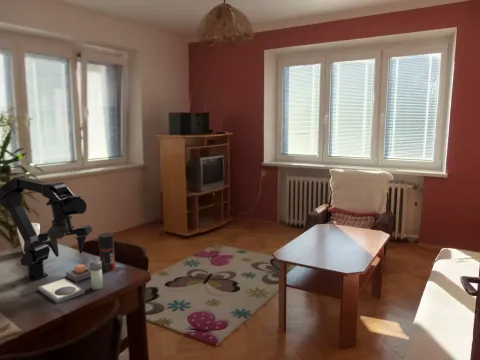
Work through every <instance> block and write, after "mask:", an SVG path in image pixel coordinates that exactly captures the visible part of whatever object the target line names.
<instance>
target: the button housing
mask: <svg viewBox="0 0 480 360" xmlns="http://www.w3.org/2000/svg"><path fill="white" fill-rule="evenodd" d="M85 268H86V272H84V273H81V274H76V273H75V268H73V269H70V270H67V271H65V276H66V277H67V278H68V279H70V280H72V281H73V282H79V281H82V280H85V279H88V278H91V271H90V267H89V266H86V265H85Z"/></svg>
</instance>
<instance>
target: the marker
mask: <svg viewBox="0 0 480 360" xmlns="http://www.w3.org/2000/svg"><path fill="white" fill-rule="evenodd" d="M89 268H90V271H91V277H90V281H91V282H90V283H91V284H90V285H91V290H94V291H96V290H101V289H102V288H104V282H103V281H104V280H103V271H102V261H100V259H96V260H92V261H90V262H89Z"/></svg>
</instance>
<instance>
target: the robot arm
mask: <svg viewBox="0 0 480 360" xmlns="http://www.w3.org/2000/svg"><path fill="white" fill-rule="evenodd" d="M24 191H31V192H35V193H39V194H41V195H42V196H43V197H44V198H47V199H48V200H47V202H46V204H45V205H46V206H50V207H51V212H52V218H53V219H52V220H51V224H52V225H51V226H50V227H49V229H48V230H46V231H45V230H44V231H42V232H39V235H38V236H37V234H36V232H35V230H34V228H33V226H32V224H31V223H32V222H31V220H30V219H29V216H28V214H27V213H26V211H25V208H24V207H23V203H22V202H23V198H24V196H23V195H22V194H23V192H24ZM81 197H82V196H81V195H75V194H74V193H73V192H72V191H71V189H70V188H69V187H68V186H67V184H66V183H65V182H63V181H50V182H49V181H42V180H39V179H34V178H31V177H26V176H25V175H24V176H23V175H21V176H15V177H13V178H10V180H9V181H8V182H5V184H3V185H1V186H0V205H1V206H2V207H3V208H4V209H6V210H8V212H9V214H10V215H11V218H12V219H13V220H12V221H13V222H14V224H15V226H16V229H17V228H18V230H19V232H20V234H21V236H22V238H23V240H24V252H25V254H23V256H22V257H21V258H20V263H21V265H22V266H25V267H27V274H24V277H25V278H27V280H29V281H32V282H33V281H35V280H38V279H42V278H45V277H48V274H47V273H46V272H45V269H44V268H45V265H44V261H45V260H48V259H49V255H50V251H51V252H52V253H53V254H54V255H55V257H56V258H59V256H60V254H59V246H58V240H60V239H63V238H64V237H65V236H73V235H76V236H75V239H76V241H77V245H78V251H79V254H80V255H81V254H82V253H83V250H84V246H85V243H86V242H85V241H86V239H87V236H89V235H90V233H92V232H93V229H92V226H91V225H90V224H86V225H81V226H78V227H76V228H75V227H74V225H73V224H72V219H73V217H72V215H82V214H84V213H85V212H86V211H87V208H88V207H87V202H86V201H85V200H84V199H83V198H81ZM50 249H51V250H50Z"/></svg>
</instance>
